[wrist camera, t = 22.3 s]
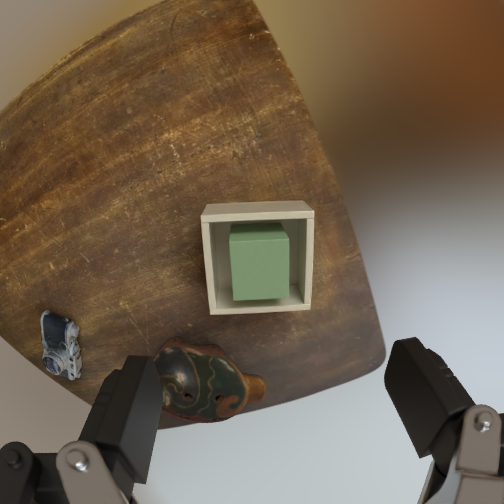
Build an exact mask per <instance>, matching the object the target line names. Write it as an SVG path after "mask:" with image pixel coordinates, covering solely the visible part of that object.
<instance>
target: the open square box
mask: <svg viewBox="0 0 504 504" xmlns="http://www.w3.org/2000/svg"><path fill="white" fill-rule="evenodd" d="M200 217H201V229H202V240H203V251H204V262H205V272H206V282H207V291H208V300H209V308H210V315H218V314H245V313H266V312H283V311H298V310H310V308H311V291H312V270H313V244H314V211H313V210H312V209H311V208H310V207H309V206H308V205H307V204H306V203H305V202H304V201H303V200H297V201H263V202H238V203H218V204H207V205H206V207H205V209H204V211H203V212H202V214H201V216H200ZM277 222H280V223H281V224H282V226H283V228H284V230H285V232H286V234H287V236H288V238H289V298H276V299H259V300H240V301H233V294H232V281H231V267H230V254H229V236H230V228H231V225H235V224H255V223H277Z"/></svg>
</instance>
